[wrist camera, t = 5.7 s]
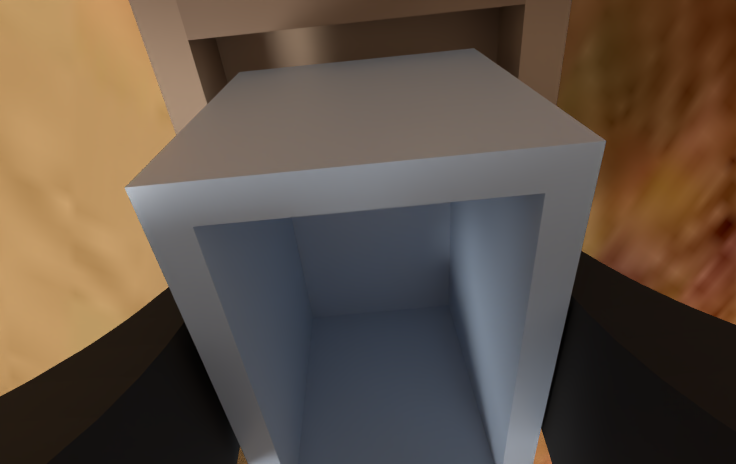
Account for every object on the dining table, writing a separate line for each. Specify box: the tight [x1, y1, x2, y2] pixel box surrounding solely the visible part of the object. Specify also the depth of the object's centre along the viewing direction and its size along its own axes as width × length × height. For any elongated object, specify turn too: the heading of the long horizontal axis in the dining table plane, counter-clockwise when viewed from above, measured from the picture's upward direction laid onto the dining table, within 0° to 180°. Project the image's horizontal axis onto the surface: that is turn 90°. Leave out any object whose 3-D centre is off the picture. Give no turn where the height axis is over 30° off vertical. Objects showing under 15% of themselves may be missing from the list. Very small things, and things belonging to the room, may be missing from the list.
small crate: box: [125, 48, 606, 464], centre depth 9 cm, size 8×6×6 cm
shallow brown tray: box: [129, 0, 572, 135], centre depth 13 cm, size 12×10×2 cm
